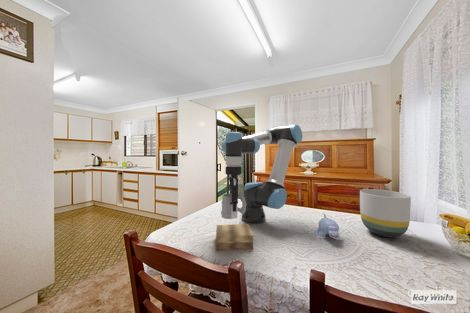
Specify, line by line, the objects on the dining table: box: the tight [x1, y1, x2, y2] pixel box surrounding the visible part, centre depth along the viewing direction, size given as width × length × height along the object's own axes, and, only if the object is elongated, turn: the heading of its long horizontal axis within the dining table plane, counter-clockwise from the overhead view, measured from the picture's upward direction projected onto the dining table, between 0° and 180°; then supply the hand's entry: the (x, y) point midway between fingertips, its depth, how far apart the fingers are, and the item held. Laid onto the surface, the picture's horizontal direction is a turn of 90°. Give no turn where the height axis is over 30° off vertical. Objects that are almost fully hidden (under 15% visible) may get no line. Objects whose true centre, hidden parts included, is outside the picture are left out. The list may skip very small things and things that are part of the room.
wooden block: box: [215, 223, 254, 252], centre depth 81 cm, size 16×12×6 cm
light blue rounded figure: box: [314, 213, 343, 241], centre depth 86 cm, size 11×15×10 cm
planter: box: [359, 188, 412, 239], centre depth 88 cm, size 20×20×21 cm
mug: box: [220, 190, 246, 220], centre depth 80 cm, size 8×12×12 cm, turn 82°
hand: (233, 214), depth 80 cm, fingers closed on mug, 7 cm apart
